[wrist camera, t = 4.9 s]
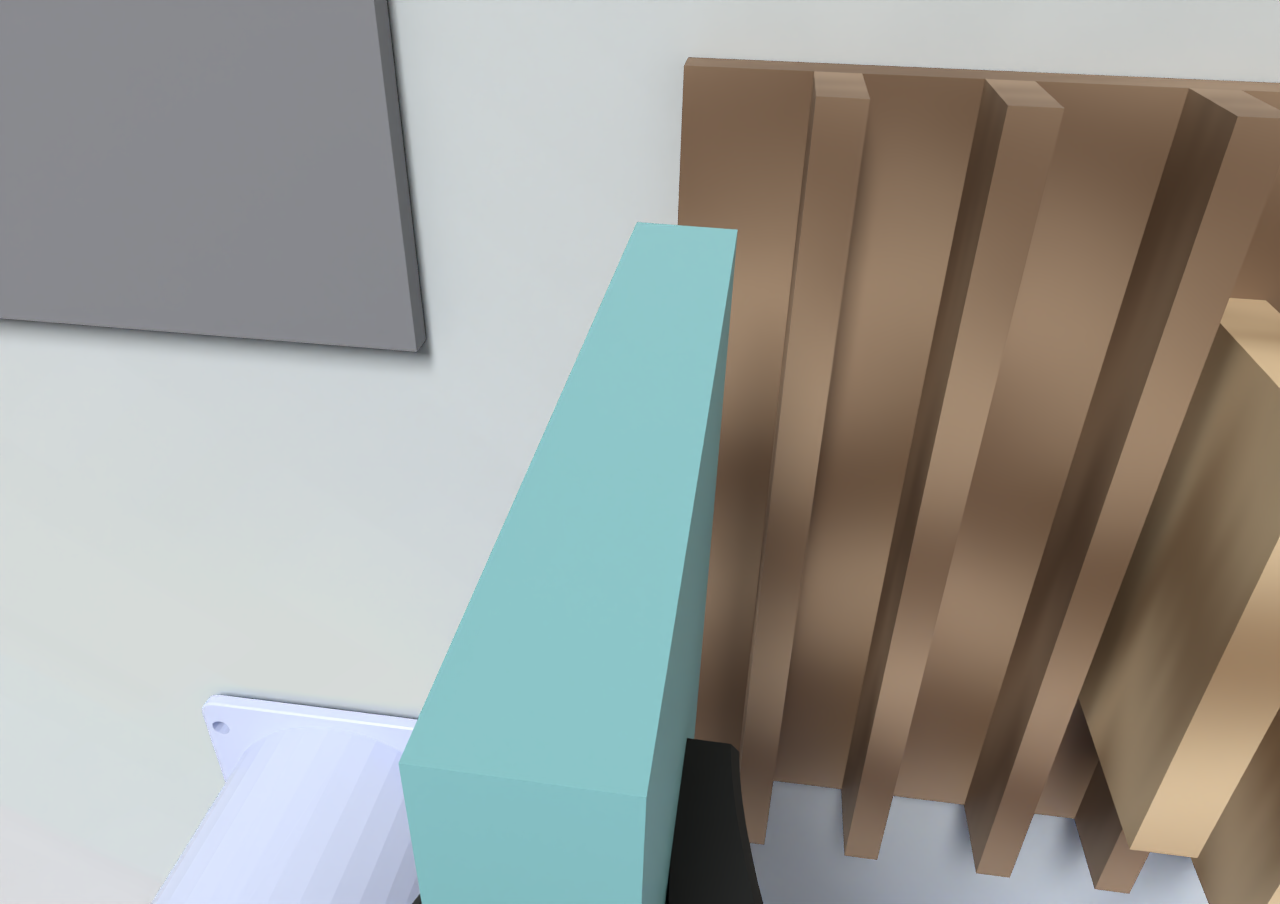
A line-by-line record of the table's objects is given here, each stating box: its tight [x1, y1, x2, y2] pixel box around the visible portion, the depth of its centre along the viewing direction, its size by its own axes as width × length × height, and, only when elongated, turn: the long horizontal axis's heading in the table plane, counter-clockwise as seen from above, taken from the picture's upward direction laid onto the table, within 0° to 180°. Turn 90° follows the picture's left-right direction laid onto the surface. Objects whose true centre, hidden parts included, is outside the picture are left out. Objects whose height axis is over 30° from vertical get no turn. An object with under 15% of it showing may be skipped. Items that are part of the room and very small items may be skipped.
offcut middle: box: [1078, 298, 1280, 858], centre depth 17 cm, size 9×1×5 cm, turn 179°
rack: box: [678, 57, 1280, 894], centre depth 20 cm, size 18×15×3 cm
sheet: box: [398, 222, 738, 904], centre depth 11 cm, size 12×1×8 cm, turn 178°
